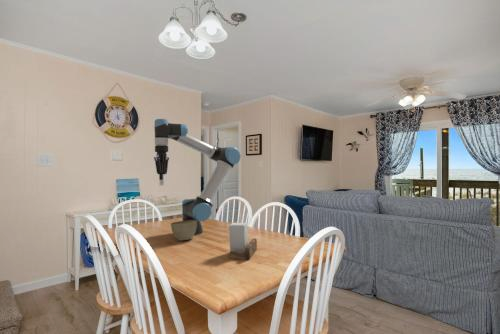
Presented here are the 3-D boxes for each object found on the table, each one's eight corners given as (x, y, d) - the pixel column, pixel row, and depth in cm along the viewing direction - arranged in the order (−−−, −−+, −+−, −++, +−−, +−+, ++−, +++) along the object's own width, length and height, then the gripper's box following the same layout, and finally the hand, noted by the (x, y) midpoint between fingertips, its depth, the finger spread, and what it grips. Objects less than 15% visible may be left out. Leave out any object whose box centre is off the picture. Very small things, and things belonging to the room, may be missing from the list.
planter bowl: (203, 236, 175) (201, 218, 176) (188, 241, 160) (186, 223, 161) (182, 236, 181) (181, 220, 182) (166, 242, 167) (164, 224, 167)
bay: (238, 248, 151) (238, 237, 151) (256, 249, 148) (256, 238, 148) (229, 258, 135) (229, 246, 135) (249, 260, 133) (249, 247, 133)
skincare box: (248, 252, 144) (248, 222, 144) (245, 256, 138) (244, 225, 138) (233, 251, 147) (233, 222, 146) (229, 255, 140) (228, 224, 140)
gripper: (161, 144, 156) (162, 186, 157) (172, 145, 169) (173, 184, 169) (149, 144, 158) (150, 186, 158) (161, 146, 171) (162, 184, 171)
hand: (162, 185), depth 164 cm, fingers closed
